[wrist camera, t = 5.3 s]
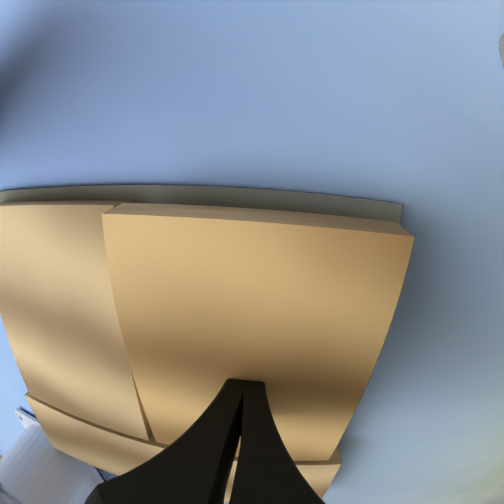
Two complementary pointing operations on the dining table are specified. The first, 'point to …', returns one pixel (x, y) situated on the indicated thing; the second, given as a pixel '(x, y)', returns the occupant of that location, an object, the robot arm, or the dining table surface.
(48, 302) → the floor panel
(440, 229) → the dining table surface
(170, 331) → the oak plank
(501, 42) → the house plant
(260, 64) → the dining table surface
